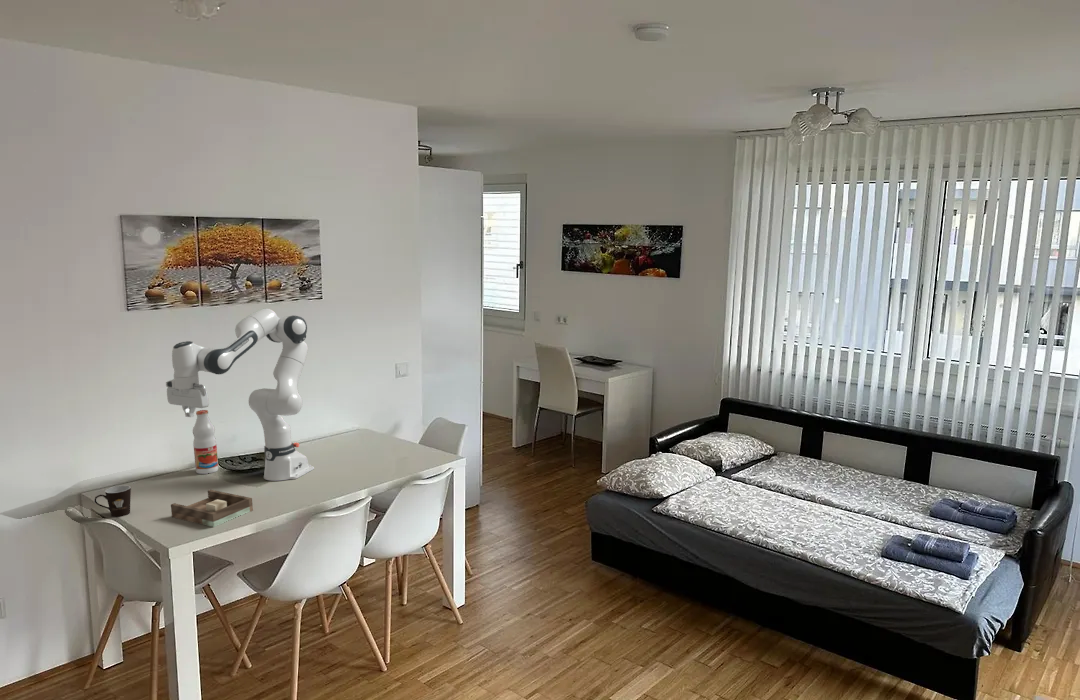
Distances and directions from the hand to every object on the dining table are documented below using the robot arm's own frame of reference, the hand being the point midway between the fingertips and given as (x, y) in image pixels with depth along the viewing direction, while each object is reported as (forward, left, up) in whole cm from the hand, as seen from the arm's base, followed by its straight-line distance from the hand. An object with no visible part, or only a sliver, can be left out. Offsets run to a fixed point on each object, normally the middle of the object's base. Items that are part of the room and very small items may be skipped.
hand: (189, 416), depth 294 cm
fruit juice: (-26, -26, -34) cm, 50 cm away
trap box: (+9, +20, -34) cm, 41 cm away
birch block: (+13, +27, -32) cm, 44 cm away
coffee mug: (+25, -14, -34) cm, 45 cm away
